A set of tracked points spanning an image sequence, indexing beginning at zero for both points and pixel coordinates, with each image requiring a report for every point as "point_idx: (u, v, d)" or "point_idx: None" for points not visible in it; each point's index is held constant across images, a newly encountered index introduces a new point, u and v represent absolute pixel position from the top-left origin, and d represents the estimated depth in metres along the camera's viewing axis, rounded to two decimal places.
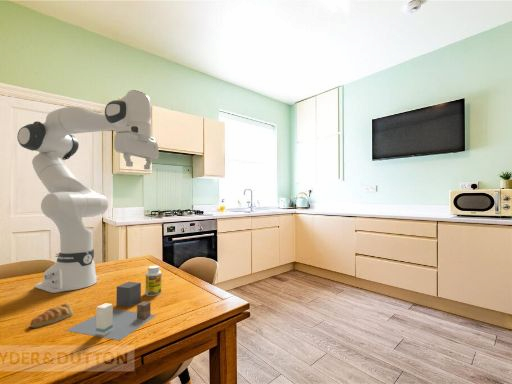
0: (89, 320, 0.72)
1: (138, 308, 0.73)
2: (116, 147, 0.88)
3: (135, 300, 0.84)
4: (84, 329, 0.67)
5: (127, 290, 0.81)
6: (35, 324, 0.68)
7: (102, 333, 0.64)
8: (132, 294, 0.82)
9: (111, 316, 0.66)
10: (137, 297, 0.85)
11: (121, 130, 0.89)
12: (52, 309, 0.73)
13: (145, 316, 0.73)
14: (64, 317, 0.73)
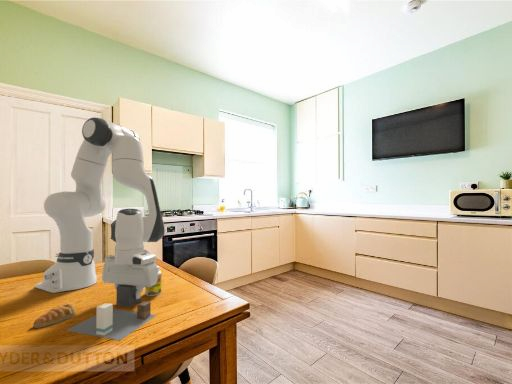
0: (89, 320, 0.72)
1: (138, 308, 0.73)
2: (152, 282, 0.81)
3: (135, 300, 0.84)
4: (84, 329, 0.67)
5: (127, 290, 0.81)
6: (38, 324, 0.68)
7: (102, 333, 0.64)
8: (132, 294, 0.82)
9: (111, 316, 0.66)
10: None
11: (150, 262, 0.82)
12: (55, 309, 0.73)
13: (145, 316, 0.73)
14: (67, 317, 0.73)
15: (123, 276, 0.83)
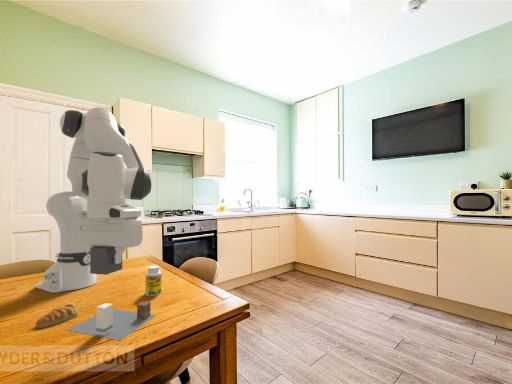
0: (89, 320, 0.72)
1: (138, 308, 0.73)
2: (135, 241, 0.63)
3: (115, 265, 0.66)
4: (84, 329, 0.67)
5: (103, 252, 0.64)
6: (41, 324, 0.68)
7: (102, 333, 0.64)
8: (110, 257, 0.65)
9: (111, 316, 0.66)
10: None
11: (133, 216, 0.64)
12: (57, 309, 0.73)
13: (145, 316, 0.73)
14: (70, 317, 0.73)
15: (98, 235, 0.65)
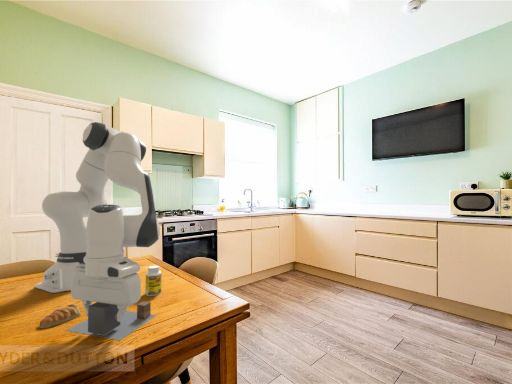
0: None
1: (138, 308, 0.73)
2: (134, 300, 0.63)
3: (112, 323, 0.65)
4: (84, 329, 0.67)
5: (101, 311, 0.63)
6: (45, 324, 0.68)
7: None
8: (108, 316, 0.64)
9: None
10: None
11: (131, 273, 0.64)
12: (60, 309, 0.73)
13: (145, 316, 0.73)
14: (73, 317, 0.73)
15: (96, 292, 0.65)
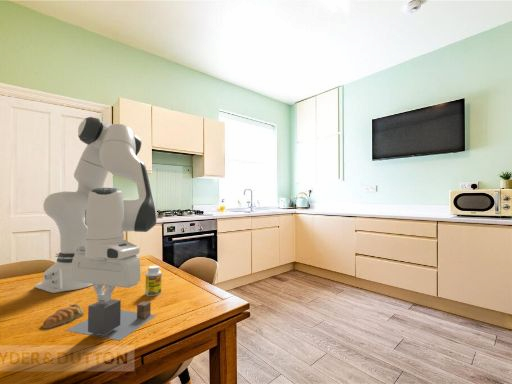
0: None
1: (138, 308, 0.73)
2: (133, 281, 0.63)
3: (112, 323, 0.65)
4: (84, 329, 0.67)
5: (101, 311, 0.63)
6: (49, 324, 0.68)
7: None
8: (108, 316, 0.64)
9: None
10: (115, 319, 0.66)
11: (131, 255, 0.64)
12: (63, 309, 0.73)
13: (145, 316, 0.73)
14: (76, 317, 0.74)
15: (96, 274, 0.65)
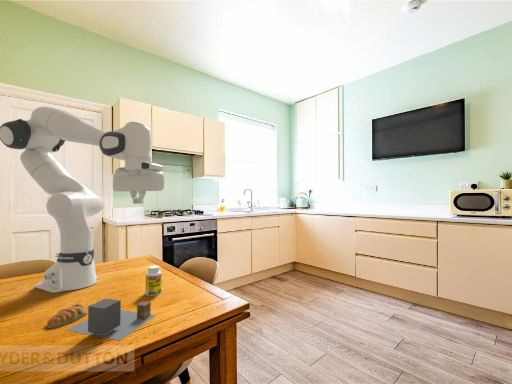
0: None
1: (138, 308, 0.73)
2: (159, 186, 0.88)
3: (112, 323, 0.65)
4: (84, 329, 0.67)
5: (101, 311, 0.63)
6: (53, 324, 0.68)
7: None
8: (108, 316, 0.64)
9: None
10: (115, 319, 0.66)
11: (158, 169, 0.90)
12: (66, 309, 0.73)
13: (145, 316, 0.73)
14: (80, 316, 0.74)
15: (132, 183, 0.90)
